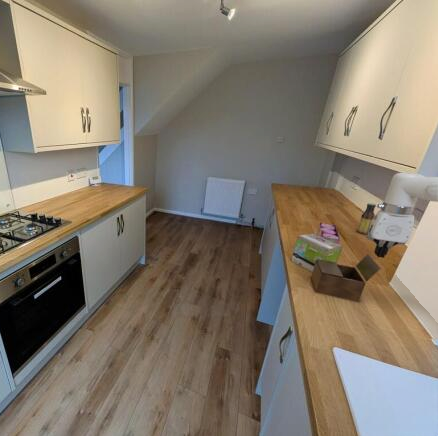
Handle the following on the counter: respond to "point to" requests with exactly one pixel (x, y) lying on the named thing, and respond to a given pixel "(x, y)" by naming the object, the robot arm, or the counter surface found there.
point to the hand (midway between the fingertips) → (379, 255)
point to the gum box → (328, 232)
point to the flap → (367, 267)
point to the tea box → (314, 250)
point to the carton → (337, 280)
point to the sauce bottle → (366, 219)
